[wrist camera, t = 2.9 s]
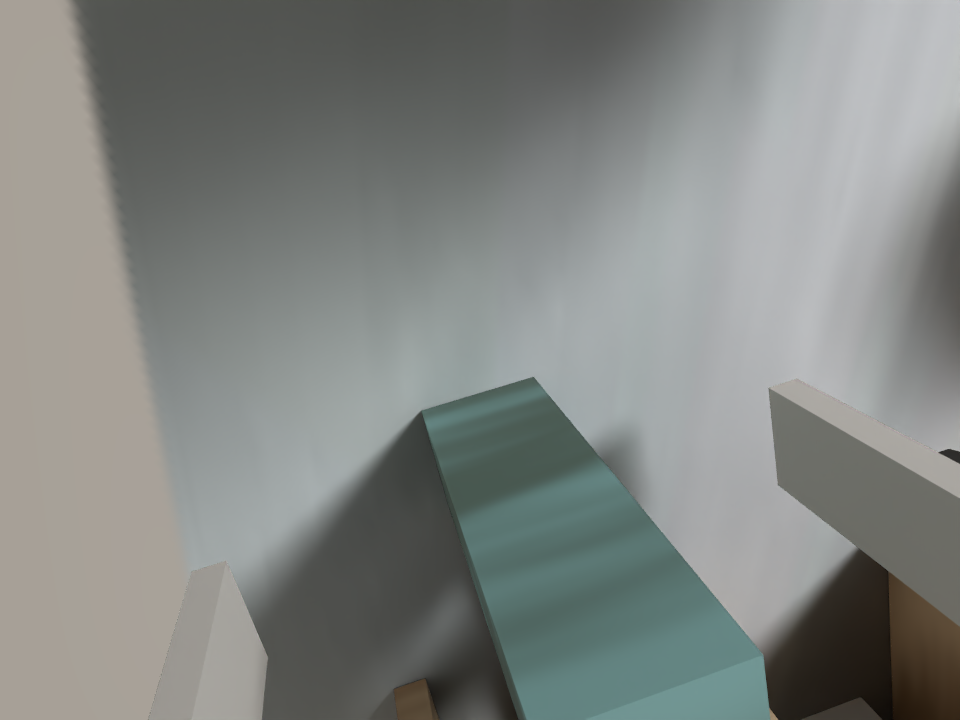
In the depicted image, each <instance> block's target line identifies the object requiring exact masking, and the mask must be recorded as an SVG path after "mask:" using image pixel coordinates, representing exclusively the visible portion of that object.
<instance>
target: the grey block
mask: <svg viewBox="0 0 960 720" xmlns="http://www.w3.org/2000/svg"><path fill="white" fill-rule="evenodd" d="M801 720H882V719H881V718H880V717H879V716H878V715H877V714H876V713H875V712H874V710H873V709H872V708H871V707H870V706H869V705H868V704H867V703H866V702H865V701H864V700H863V699H862V698H861V697H860V698H857V699H854V700H852V701H849V702H846V703H844V704H841V705H838V706H836V707H833V708H830V709H828V710H825V711H822V712H820V713H817V714H814V715H812V716H809V717H806V718H804V719H801Z"/></svg>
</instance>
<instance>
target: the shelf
mask: <svg viewBox="0 0 960 720" xmlns="http://www.w3.org/2000/svg"><path fill="white" fill-rule="evenodd" d="M888 574H889V607H890V639H891V672H892V705H893V720H960V626H958V625H957V624H956V623H954V622H953V621H952V620H951V619H949V618H948V617H947V616H945V615H944V614H943V613H942V612H940V611H939V610H938V609H936V608H935V607H934V606H933V605H931V604H930V603H929V602H927V601H926V600H925V599H924V598H922V597H921V596H920V595H918V594H917V593H916V592H915V591H913V590H912V589H911V588H909V587H908V586H907V585H906V584H904V583H903V582H902V581H901V580H899V579H898V578H897V577H895V576H894V575H893V574H892V573H890V572H889V571H888ZM394 694H395V702H396V710H397V718H398V720H439V717H438V714H437V711H436V708H435V706H434V703H433V700H432V697H431V694H430V691H429V688H428V685H427V682H426V679H422V680H419V681H416V682H413V683H410V684H407V685H404V686H402V687H399V688H396V689H394ZM769 711H770V720H778V719H777V717H776V716H775V715H774V713H773V712H772V711H771V709H770V708H769Z"/></svg>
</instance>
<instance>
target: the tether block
mask: <svg viewBox="0 0 960 720" xmlns="http://www.w3.org/2000/svg"><path fill="white" fill-rule="evenodd" d="M421 412H422V415H423V419H424V422H425V425H426V429H427V432H428V436H429V439H430V443H431V446H432V450H433V453H434V457H435V460H436V464H437V467H438V471H439V474H440V477H441V481H442V484H443V488H444V491H445V495H446V498H447V502H448V505H449V509H450V512H451V515H452V518H453V521H454V524H455V527H456V530H457V533H458V536H459V539H460V542H461V545H462V549H463V552H464V555H465V558H466V561H467V564H468V567H469V570H470V573H471V576H472V579H473V582H474V585H475V588H476V591H477V594H478V597H479V600H480V603H481V606H482V610H483V613H484V616H485V619H486V622H487V625H488V628H489V631H490V634H491V637H492V640H493V643H494V646H495V649H496V652H497V655H498V658H499V661H500V664H501V668H502V671H503V674H504V677H505V680H506V683H507V686H508V689H509V692H510V695H511V698H512V701H513V704H514V707H515V710H516V713H517V716H518V719H519V720H770V711H769V702H768V693H767V684H766V675H765V667H764V658H763V654H762V653H761V652H760V650H759V649H758V648H757V647H756V646H755V644H754V643H753V642H752V641H751V640H750V638H749V637H748V636H747V635H746V634H745V632H744V631H743V630H742V629H741V627H740V626H739V625H738V624H737V623H736V621H735V620H734V619H733V618H732V617H731V615H730V614H729V613H728V612H727V611H726V609H725V608H724V607H723V606H722V604H721V603H720V602H719V601H718V600H717V598H716V597H715V596H714V595H713V594H712V592H711V591H710V590H709V589H708V588H707V586H706V585H705V584H704V583H703V581H702V580H701V579H700V578H699V577H698V575H697V574H696V573H695V572H694V571H693V569H692V568H691V567H690V566H689V565H688V563H687V562H686V561H685V560H684V558H683V557H682V556H681V555H680V554H679V552H678V551H677V550H676V549H675V548H674V546H673V545H672V544H671V543H670V542H669V540H668V539H667V538H666V537H665V535H664V534H663V533H662V532H661V531H660V529H659V528H658V527H657V526H656V525H655V523H654V522H653V521H652V520H651V519H650V517H649V516H648V515H647V514H646V512H645V511H644V510H643V509H642V508H641V506H640V505H639V504H638V503H637V502H636V500H635V499H634V498H633V497H632V496H631V494H630V493H629V492H628V491H627V489H626V488H625V487H624V486H623V485H622V483H621V482H620V481H619V480H618V479H617V477H616V476H615V475H614V474H613V473H612V471H611V470H610V469H609V468H608V466H607V465H606V464H605V463H604V462H603V460H602V459H601V458H600V457H599V456H598V454H597V453H596V452H595V451H594V450H593V448H592V447H591V446H590V445H589V443H588V442H587V441H586V440H585V439H584V437H583V436H582V435H581V434H580V433H579V431H578V430H577V429H576V428H575V427H574V425H573V424H572V423H571V422H570V420H569V419H568V418H567V417H566V416H565V414H564V413H563V412H562V411H561V410H560V408H559V407H558V406H557V405H556V403H555V402H554V401H553V400H552V399H551V397H550V396H549V395H548V394H547V393H546V391H545V390H544V389H543V388H542V387H541V385H540V384H539V383H538V382H537V380H536V379H535V378H534V377H532V378H529V379H525V380H522V381H519V382H515V383H512V384H509V385H505V386H502V387H499V388H495V389H492V390H489V391H485V392H482V393H479V394H475V395H472V396H469V397H466V398H462V399H459V400H456V401H452V402H449V403H446V404H442V405H439V406H436V407H432V408H429V409H426V410H422V411H421Z"/></svg>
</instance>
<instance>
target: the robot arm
mask: <svg viewBox="0 0 960 720" xmlns="http://www.w3.org/2000/svg"><path fill="white" fill-rule="evenodd" d="M769 398H770V408H771V419H772V429H773V439H774V449H775V459H776V469H777V480H778V485H779V486H780V487H781V488H782V489H784V490H785V491H786V492H788V493H789V494H790V495H791V496H793V497H794V498H795V499H797V500H798V501H799V502H800V503H802V504H803V505H804V506H806V507H807V508H808V509H809V510H811V511H812V512H813V513H814V514H816V515H817V516H818V517H820V518H821V519H822V520H823V521H825V522H826V523H827V524H829V525H830V526H831V527H832V528H834V529H835V530H836V531H838V532H839V533H840V534H841V535H843V536H844V537H845V538H847V539H848V540H849V541H850V542H852V543H853V544H854V545H856V546H857V547H858V548H859V549H861V550H862V551H863V552H865V553H866V554H867V555H868V556H870V557H871V558H872V559H874V560H875V561H876V562H877V563H879V564H880V565H881V566H883V567H884V568H885V569H886V570H888V571H889V572H890V573H892V574H893V575H894V576H895V577H897V578H898V579H899V580H901V581H902V582H903V583H904V584H906V585H907V586H908V587H909V588H911V589H912V590H913V591H915V592H916V593H917V594H918V595H920V596H921V597H922V598H924V599H925V600H926V601H927V602H929V603H930V604H931V605H933V606H934V607H935V608H936V609H938V610H939V611H940V612H942V613H943V614H944V615H945V616H947V617H948V618H949V619H951V620H952V621H953V622H954V623H956V624H957V625H958V626H960V452H959V451H955V450H951V449H947V450H944V451H941V452H936V451H934V450H932V449H930V448H928V447H927V446H925V445H923V444H921V443H919V442H917V441H915V440H913V439H911V438H909V437H907V436H906V435H904V434H902V433H900V432H898V431H896V430H894V429H892V428H890V427H888V426H886V425H885V424H883V423H881V422H879V421H877V420H875V419H873V418H871V417H869V416H867V415H865V414H864V413H862V412H860V411H858V410H856V409H854V408H852V407H850V406H848V405H846V404H845V403H843V402H841V401H839V400H837V399H835V398H833V397H831V396H829V395H827V394H825V393H824V392H822V391H820V390H818V389H816V388H814V387H812V386H810V385H808V384H806V383H804V382H803V381H801V380H799V379H794V380H791V381H788V382H785V383H782V384H779V385H775V386H772V387H769ZM267 662H268V656H267V654H266V651H265V649H264V647H263V645H262V642H261V640H260V638H259V635H258V633H257V631H256V628H255V626H254V624H253V621H252V619H251V617H250V614H249V612H248V610H247V607H246V605H245V603H244V600H243V598H242V596H241V593H240V591H239V589H238V586H237V584H236V582H235V579H234V577H233V575H232V572H231V570H230V568H229V565H228V563H227V561H223V562H220V563H217V564H214V565H211V566H208V567H205V568H202V569H198V570H195V571H192V572H191V575H190V578H189V582H188V585H187V589H186V592H185V595H184V599H183V602H182V606H181V609H180V613H179V616H178V619H177V623H176V626H175V630H174V633H173V637H172V640H171V644H170V647H169V650H168V654H167V657H166V661H165V664H164V667H163V671H162V674H161V678H160V681H159V685H158V688H157V691H156V695H155V698H154V702H153V705H152V709H151V712H150V715H149V719H148V720H262V713H263V703H264V693H265V683H266V672H267Z"/></svg>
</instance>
